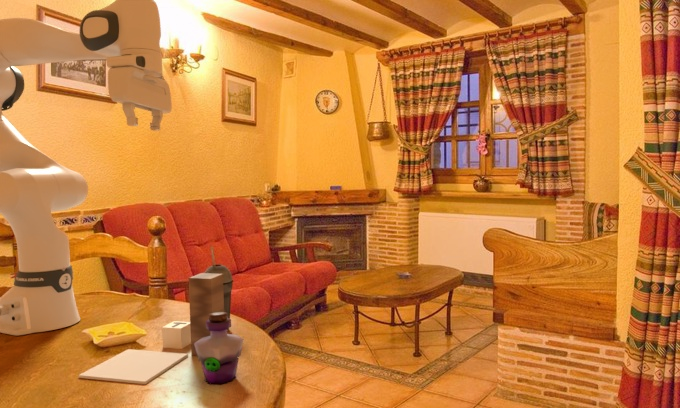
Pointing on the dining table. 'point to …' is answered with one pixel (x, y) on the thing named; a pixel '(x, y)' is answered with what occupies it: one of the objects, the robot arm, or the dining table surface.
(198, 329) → the walnut block
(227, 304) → the beverage cup
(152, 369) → the white square plate
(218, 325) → the potion bottle
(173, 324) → the letter cube
